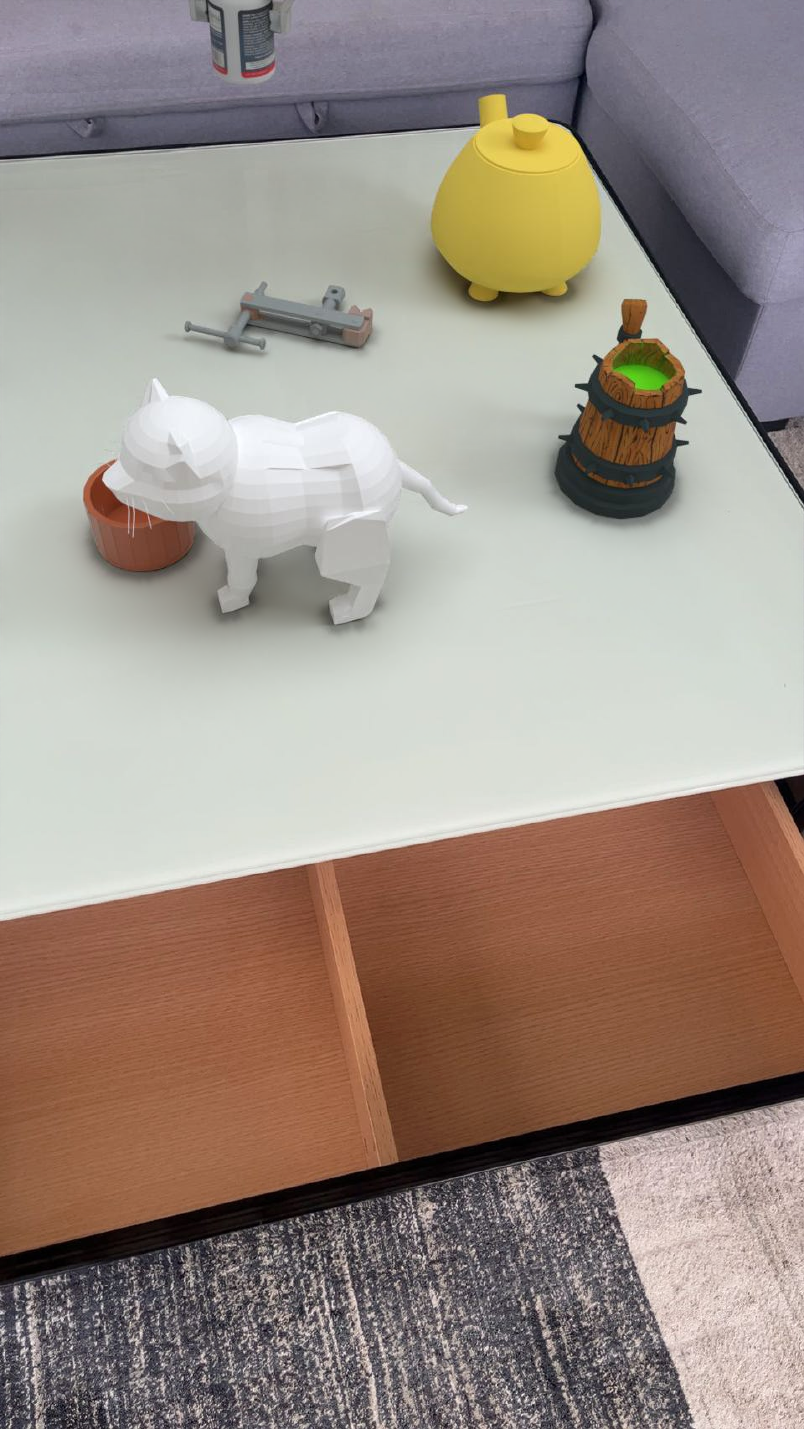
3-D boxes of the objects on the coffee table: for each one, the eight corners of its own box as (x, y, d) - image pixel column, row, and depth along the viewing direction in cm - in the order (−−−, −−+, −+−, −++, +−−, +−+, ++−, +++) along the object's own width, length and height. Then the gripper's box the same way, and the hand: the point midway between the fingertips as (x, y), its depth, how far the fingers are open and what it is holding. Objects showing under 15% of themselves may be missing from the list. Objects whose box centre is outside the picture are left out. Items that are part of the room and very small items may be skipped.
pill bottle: (282, 63, 92) (279, -56, 85) (265, 91, 89) (260, -30, 82) (224, 52, 92) (215, -67, 85) (204, 80, 89) (194, -41, 82)
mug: (685, 524, 83) (730, 404, 73) (555, 518, 82) (583, 398, 73) (663, 413, 90) (702, 292, 81) (544, 408, 90) (568, 285, 80)
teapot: (404, 202, 107) (412, 55, 95) (553, 194, 109) (578, 49, 97) (447, 325, 96) (461, 175, 84) (611, 312, 98) (647, 164, 87)
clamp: (382, 289, 94) (349, 356, 89) (381, 310, 96) (349, 378, 91) (222, 256, 96) (180, 320, 91) (225, 278, 98) (184, 342, 92)
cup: (80, 562, 78) (67, 518, 74) (114, 492, 82) (103, 447, 78) (178, 579, 77) (170, 535, 73) (207, 508, 81) (201, 463, 78)
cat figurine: (439, 499, 83) (459, 312, 69) (483, 598, 77) (513, 416, 64) (116, 557, 78) (68, 368, 64) (138, 667, 73) (91, 486, 59)
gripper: (74, -193, 75) (107, 23, 86) (359, -152, 74) (354, 60, 85) (104, -220, 78) (131, -10, 90) (376, -182, 78) (368, 26, 89)
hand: (242, 25), depth 88 cm, fingers closed on pill bottle, 5 cm apart
